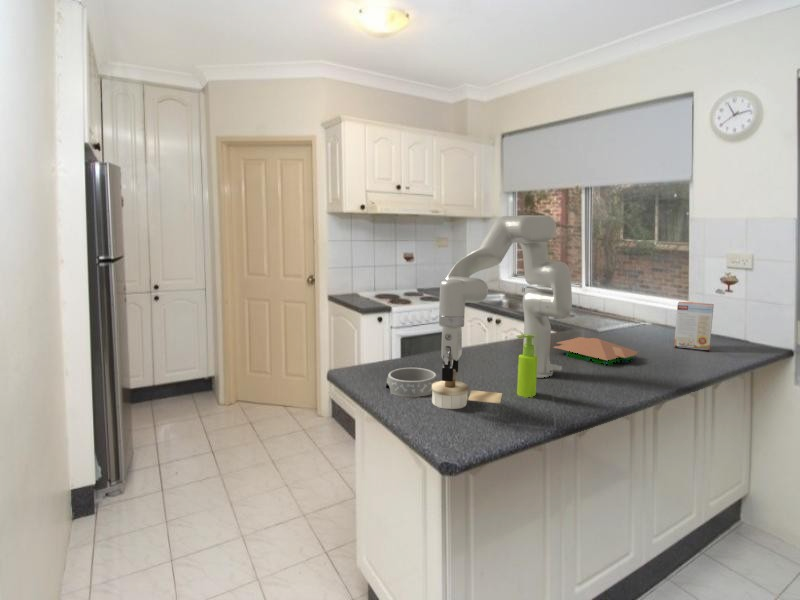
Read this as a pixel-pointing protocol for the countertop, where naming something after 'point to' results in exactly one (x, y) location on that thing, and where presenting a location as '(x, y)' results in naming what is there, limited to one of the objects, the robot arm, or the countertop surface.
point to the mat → (485, 396)
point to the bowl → (449, 401)
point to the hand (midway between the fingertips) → (450, 376)
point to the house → (596, 349)
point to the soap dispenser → (527, 369)
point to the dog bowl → (411, 382)
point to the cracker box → (693, 324)
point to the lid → (450, 387)
